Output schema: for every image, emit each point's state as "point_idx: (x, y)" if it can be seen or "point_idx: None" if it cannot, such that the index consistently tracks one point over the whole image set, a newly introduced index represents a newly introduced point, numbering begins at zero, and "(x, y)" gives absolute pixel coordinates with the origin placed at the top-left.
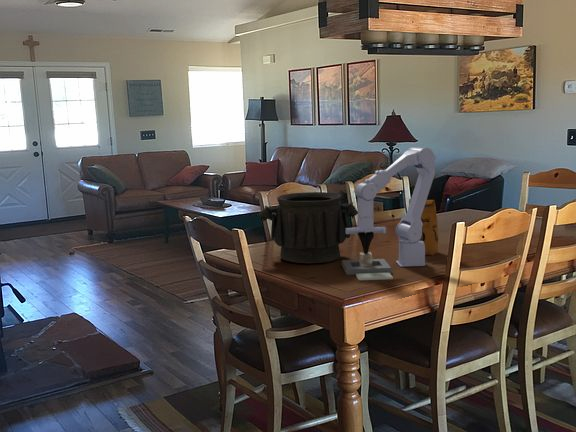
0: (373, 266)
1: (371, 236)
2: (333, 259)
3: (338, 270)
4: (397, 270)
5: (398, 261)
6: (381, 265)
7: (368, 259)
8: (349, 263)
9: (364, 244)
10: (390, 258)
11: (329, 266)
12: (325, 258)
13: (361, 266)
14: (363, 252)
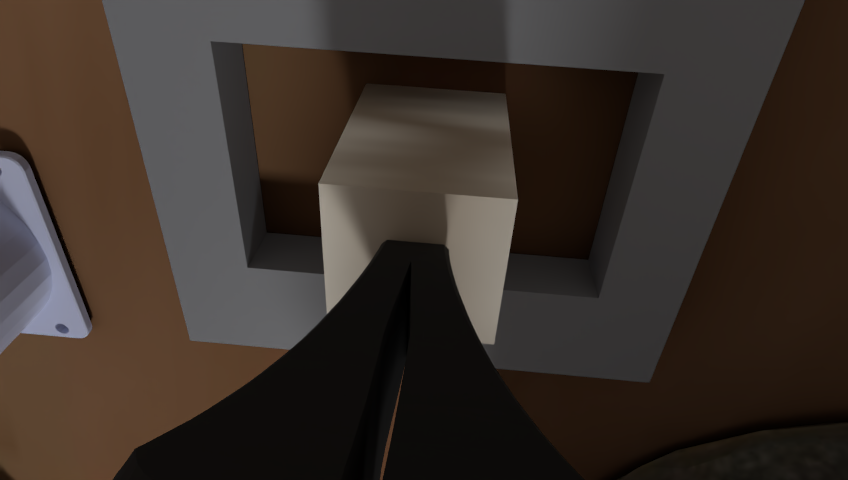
0: (348, 19)
1: (182, 472)
2: (663, 466)
3: (773, 170)
4: (46, 12)
5: (60, 310)
6: (228, 111)
7: (396, 149)
8: (625, 247)
9: (443, 343)
10: (152, 429)
11: (776, 335)
12: (780, 463)
13: (525, 60)
14: None
